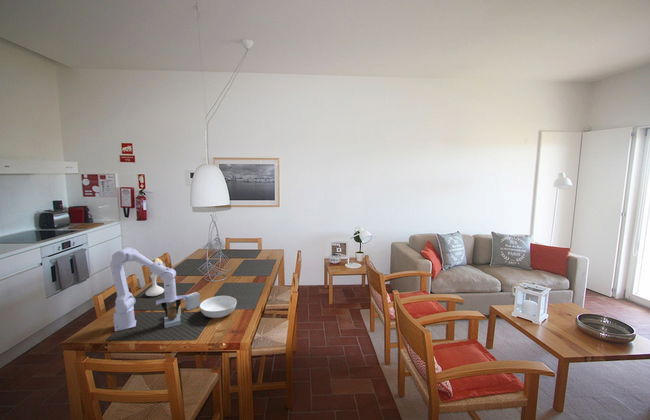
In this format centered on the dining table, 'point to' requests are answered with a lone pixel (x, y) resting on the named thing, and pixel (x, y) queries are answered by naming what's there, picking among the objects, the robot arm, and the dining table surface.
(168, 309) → the walnut block
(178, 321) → the base block
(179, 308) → the sage block
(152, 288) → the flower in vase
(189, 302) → the medicine box
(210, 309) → the serving bowl
